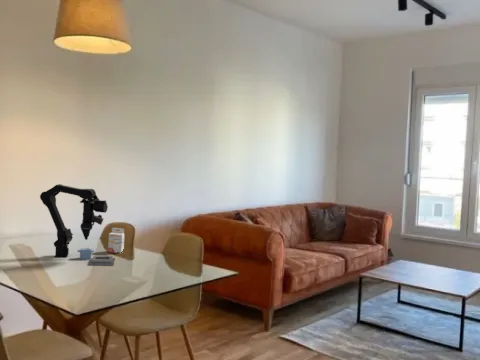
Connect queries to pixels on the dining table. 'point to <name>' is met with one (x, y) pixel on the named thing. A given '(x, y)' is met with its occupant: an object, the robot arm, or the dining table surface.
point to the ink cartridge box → (116, 240)
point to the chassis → (102, 260)
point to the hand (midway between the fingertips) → (87, 237)
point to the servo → (85, 253)
